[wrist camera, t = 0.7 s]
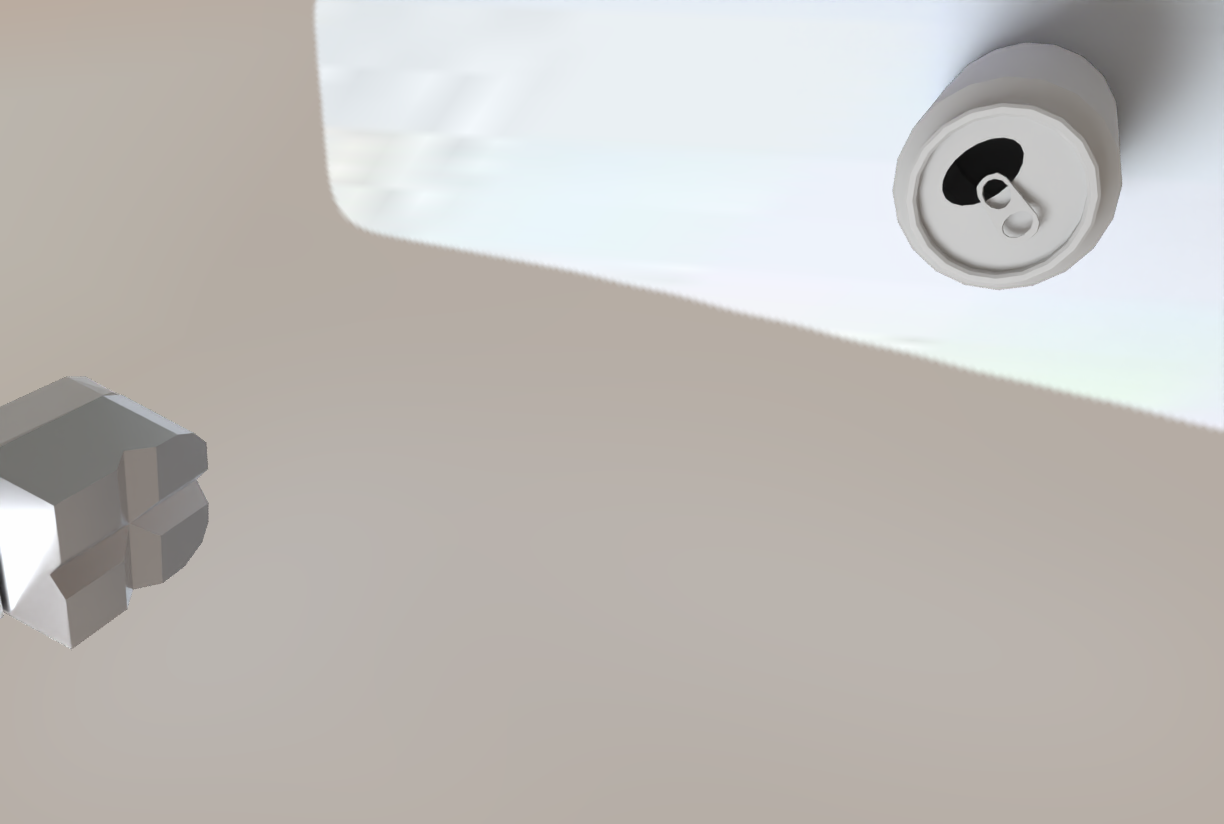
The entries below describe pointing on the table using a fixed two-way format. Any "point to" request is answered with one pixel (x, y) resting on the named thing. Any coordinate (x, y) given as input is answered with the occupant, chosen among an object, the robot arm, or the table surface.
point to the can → (1012, 168)
